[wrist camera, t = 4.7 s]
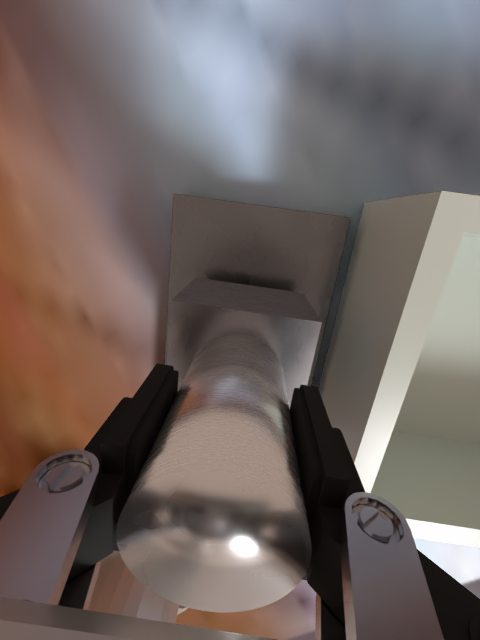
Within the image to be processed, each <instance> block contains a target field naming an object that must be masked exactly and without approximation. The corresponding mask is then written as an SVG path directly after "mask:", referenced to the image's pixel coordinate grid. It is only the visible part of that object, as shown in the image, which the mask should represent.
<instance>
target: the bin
mask: <svg viewBox="0 0 480 640" xmlns="http://www.w3.org/2000/svg"><path fill="white" fill-rule="evenodd" d="M319 392H320V395H321V398H322V400H323V403H324V406H325V409H326V412H327V415H328V417H329V420H330V423H331V426H332V427H333V428H339V429H340V430H341V432H342V434H343V436H344V439H345V441H346V444H347V446H348V449H349V451H350V454H351V457H352V459H353V462H354V464H355V467H356V469H357V472H358V474H359V477H360V480H361V482H362V485H363V487H364V490H365V492H367V493H372V494H375V495H377V496H379V497H382V498H383V499H385V500H387V501H388V502H390V503H391V504H392V505H393V506H394V507H396V508H397V509H398V510H399V511H400V512H401V514H402V515H403V516H404V518H405V519H406V520H407V523H408V525H409V527H410V529H411V532H412V535H413V538H418V539H425V540H431V541H438V542H444V543H451V544H457V545H464V546H471V547H477V548H480V196H477V195H470V194H462V193H455V192H447V191H437V192H430V193H424V194H417V195H410V196H404V197H397V198H390V199H384V200H377V201H371V202H364V206H363V210H362V214H361V218H360V222H359V226H358V230H357V235H356V239H355V243H354V247H353V251H352V255H351V259H350V263H349V267H348V271H347V275H346V279H345V283H344V287H343V291H342V295H341V299H340V303H339V307H338V312H337V316H336V320H335V324H334V328H333V332H332V336H331V340H330V344H329V348H328V352H327V356H326V360H325V364H324V368H323V372H322V376H321V380H320V384H319Z"/></svg>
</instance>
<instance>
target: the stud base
mask: <svg viewBox="0 0 480 640" xmlns="http://www.w3.org/2000/svg"><path fill="white" fill-rule="evenodd" d="M350 219H351V218H349V217H341V216H334V215H327V214H319V213H312V212H305V211H297V210H290V209H283V208H275V207H268V206H261V205H253V204H246V203H239V202H231V201H224V200H217V199H209V198H202V197H195V196H187V195H180V194H174V197H173V216H172V235H171V253H170V272H169V291H168V310H167V329H166V348H165V365H167V354H168V337H169V321H170V304H171V300H172V299H173V298H174V297H175V296H176V295H177V294H178V293H179V292H181V291H182V290H183V289H184V288H185V287H186V286H187V285H188V284H189V283H190V282H191V281H193V280H194V279H195V278H202V279H209V280H216V281H223V282H230V283H237V284H244V285H251V286H258V287H266V288H273V289H280V290H287V291H294V292H301V293H304V294H305V296H306V297H307V299H308V301H309V302H310V304H311V305H312V307H313V309H314V310H315V312H316V313H317V315H318V317H319V318H320V320H321V322H322V324H321V328H320V333H319V337H318V341H317V346H316V350H315V354H314V359H313V363H312V367H311V371H310V376H309V380H308V384H307V385H309V386H311V384H312V379H313V375H314V371H315V367H316V362H317V358H318V354H319V350H320V346H321V341H322V337H323V333H324V329H325V324H326V320H327V316H328V312H329V307H330V303H331V299H332V295H333V291H334V286H335V282H336V278H337V274H338V269H339V265H340V261H341V257H342V253H343V248H344V244H345V240H346V236H347V231H348V227H349V223H350Z"/></svg>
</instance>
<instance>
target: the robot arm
mask: <svg viewBox="0 0 480 640" xmlns="http://www.w3.org/2000/svg"><path fill="white" fill-rule="evenodd" d="M178 376H179V372H178V371H176V370H174V367H173V366H170V365H163V364H156V365H155V367H154V368H153V370H152V371H151V373H150V374H149V375H148V377H147V378H146V380H145V381H144V382H143V384H142V385H141V387H140V388H139V389H138V391H137V392H136V394H135V395H134V397H133V398H128V397H125V398H123V399H122V400H121V401H120V403H119V404H118V405H117V407H116V408H115V409H114V411H113V412H112V413H111V414H110V416H109V417H108V418H107V420H106V421H105V422H104V424H103V425H102V426H101V428H100V429H99V430H98V432H97V433H96V434H95V436H94V437H93V438H92V439H91V441H90V442H89V443H88V445H87V446H86V447H85V449H84V450H78V449H75V450H66V451H63V452H59V453H56V454H54V455H52V456H50V457H48V458H46V459H45V460H43V461H42V462H41V463H39V464H38V465H37V466H36V467H35V469H34V470H33V471H32V472H31V474H30V475H29V477H28V478H27V480H26V481H25V483H24V484H23V486H22V488H21V489H19V490H17V491H15V492H12V493H10V494H7V495H5V496H2V497H0V640H276V639H270V638H263V637H257V636H251V635H245V634H238V633H232V632H226V631H219V630H213V629H207V628H200V627H194V626H187V625H181V624H175V623H176V618H177V615H178V614H180V613H182V612H183V611H185V610H186V609H187V608H189V607H185V606H182V605H179V604H176V603H174V602H171V601H169V600H167V599H165V598H163V597H161V596H159V595H157V594H156V593H154V592H153V591H151V590H150V589H148V588H147V587H146V586H144V585H143V584H142V583H141V582H140V581H139V580H138V579H137V578H136V577H135V576H134V575H133V574H132V573H131V572H130V570H129V569H128V568H127V566H126V564H125V563H124V561H123V559H122V557H121V555H120V553H119V549H118V545H117V538H116V530H117V523H118V520H119V516H120V514H121V512H122V510H123V508H124V506H125V503H126V501H127V499H128V497H129V495H130V493H131V491H132V489H133V486H134V484H135V482H136V480H137V478H138V476H139V474H140V471H141V469H142V467H143V465H144V463H145V461H146V459H147V457H148V454H149V452H150V450H151V448H152V446H153V444H154V442H155V440H156V437H157V435H158V433H159V431H160V429H161V427H162V425H163V422H164V420H165V418H166V416H167V414H168V412H169V410H170V408H171V405H172V403H173V401H174V399H175V397H176V395H177V390H178ZM289 410H290V416H291V422H292V428H293V435H294V441H295V447H296V453H297V459H298V465H299V471H300V477H301V484H302V490H303V496H304V502H305V508H306V514H307V520H308V526H309V533H310V539H311V545H312V555H311V560H310V565H309V567H308V570H307V572H306V574H305V575H304V577H303V579H302V580H307V582H308V584H309V585H310V586H311V587H312V588H313V589H314V591H315V592H316V593H317V595H316V640H480V599H479V598H478V597H476V596H475V595H474V594H473V593H471V592H470V591H469V590H467V589H466V588H465V587H464V586H463V585H461V584H460V583H459V582H457V581H456V580H455V579H454V578H452V577H451V576H450V575H449V574H447V573H446V572H445V571H444V570H442V569H441V568H440V567H439V566H437V565H436V564H435V563H434V562H432V561H431V560H430V559H429V558H427V557H426V556H425V555H423V554H422V553H421V552H420V551H418V550H417V549H416V545H415V542H414V539H413V535H412V532H411V529H410V527H409V525H408V523H407V520H406V519H405V518H404V516H403V515H402V514H401V512H400V511H399V510H398V509H397V508H396V507H394V506H393V505H392V504H391V503H390V502H388V501H387V500H385V499H383V498H382V497H379V496H377V495H375V494H372V493H367V492H365V490H364V487H363V485H362V482H361V480H360V477H359V474H358V472H357V469H356V467H355V464H354V462H353V459H352V457H351V454H350V451H349V449H348V446H347V444H346V441H345V439H344V436H343V434H342V432H341V430H340V429H339V428H333V427H332V426H331V423H330V420H329V417H328V415H327V412H326V409H325V406H324V403H323V400H322V398H321V395H320V392H319V389H318V387H315V386H309V385H302V384H301V385H300V388H294V391H293V395H292V400H291V405H290V409H289Z"/></svg>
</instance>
